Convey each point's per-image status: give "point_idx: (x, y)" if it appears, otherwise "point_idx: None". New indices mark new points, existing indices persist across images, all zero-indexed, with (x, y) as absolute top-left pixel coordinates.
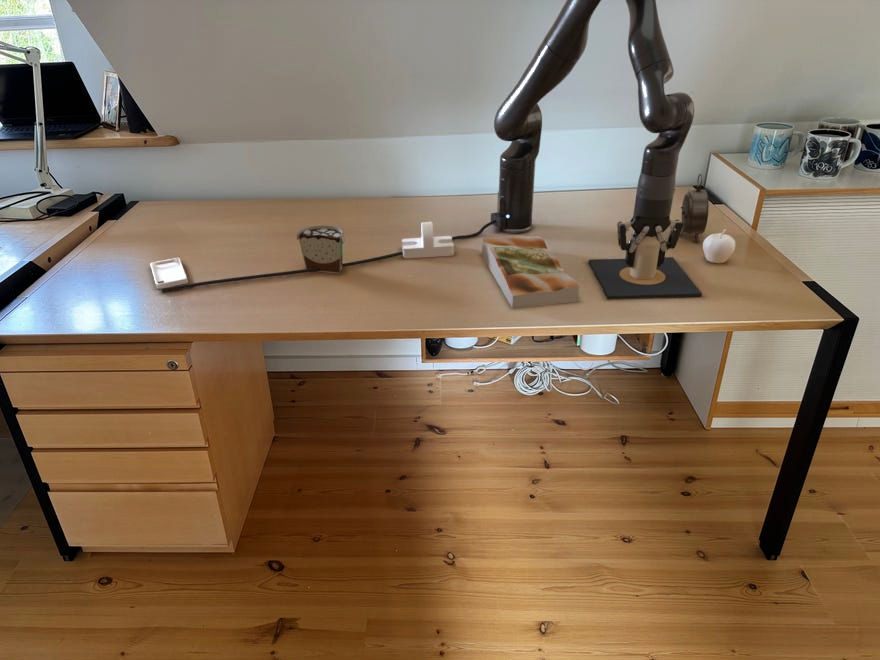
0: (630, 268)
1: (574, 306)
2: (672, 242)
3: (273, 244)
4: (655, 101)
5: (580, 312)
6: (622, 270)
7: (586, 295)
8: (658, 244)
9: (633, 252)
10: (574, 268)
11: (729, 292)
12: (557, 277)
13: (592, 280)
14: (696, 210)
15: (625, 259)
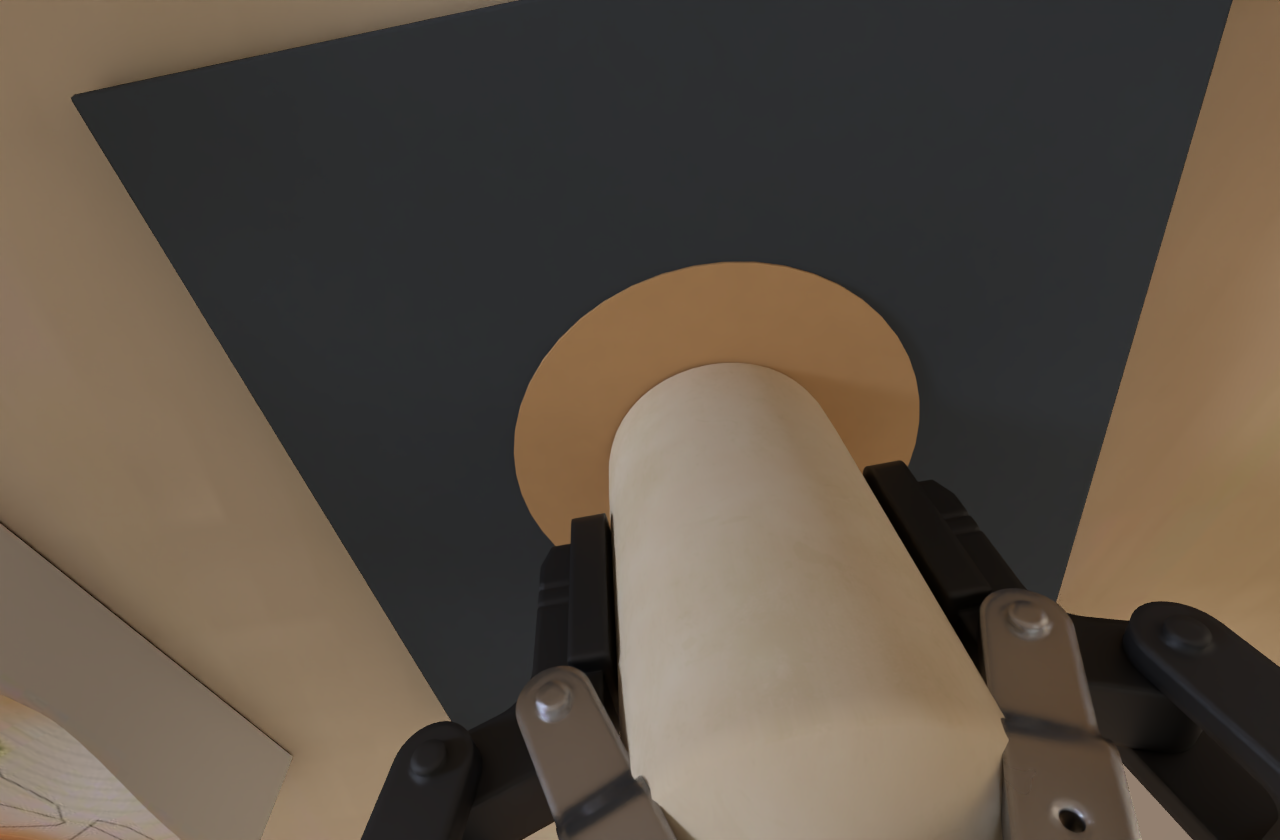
0: (609, 495)
1: (293, 789)
2: (1167, 794)
3: None
4: None
5: (342, 820)
6: (541, 388)
7: (323, 697)
8: None
9: (616, 720)
10: (15, 294)
11: (1246, 546)
12: (25, 827)
13: (300, 515)
14: None
15: (541, 587)
